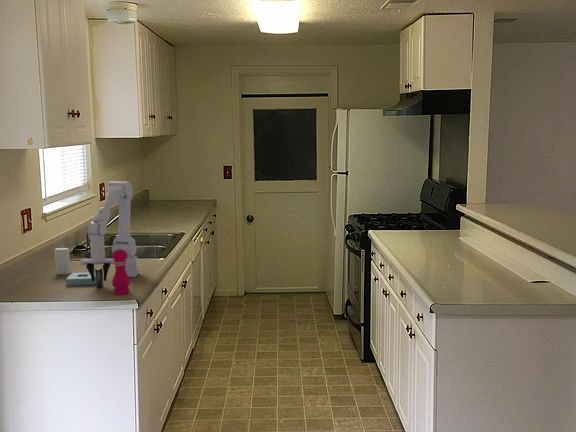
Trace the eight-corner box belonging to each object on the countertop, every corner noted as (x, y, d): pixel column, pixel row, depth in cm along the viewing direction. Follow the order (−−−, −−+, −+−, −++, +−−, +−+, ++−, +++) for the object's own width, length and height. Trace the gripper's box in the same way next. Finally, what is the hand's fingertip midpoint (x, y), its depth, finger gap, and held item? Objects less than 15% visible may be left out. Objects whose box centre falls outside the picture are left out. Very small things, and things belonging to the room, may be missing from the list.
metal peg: (103, 286, 274) (102, 268, 272) (102, 287, 271) (101, 269, 269) (96, 286, 273) (95, 268, 272) (95, 288, 270) (94, 269, 269)
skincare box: (71, 272, 300) (69, 247, 298) (68, 274, 295) (67, 249, 294) (57, 272, 299) (56, 247, 297) (55, 274, 295) (53, 249, 293)
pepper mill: (130, 294, 260) (128, 246, 257) (112, 295, 258) (110, 248, 255) (130, 290, 267) (128, 243, 264) (112, 291, 265) (110, 244, 262)
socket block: (99, 278, 287) (99, 271, 287) (94, 284, 276) (94, 278, 275) (72, 279, 286) (72, 272, 286) (66, 285, 274) (65, 279, 274)
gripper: (78, 252, 265) (80, 283, 267) (113, 251, 266) (114, 282, 268) (81, 248, 272) (83, 279, 274) (116, 247, 273) (117, 278, 275)
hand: (99, 280), depth 271 cm, fingers open, 4 cm apart
